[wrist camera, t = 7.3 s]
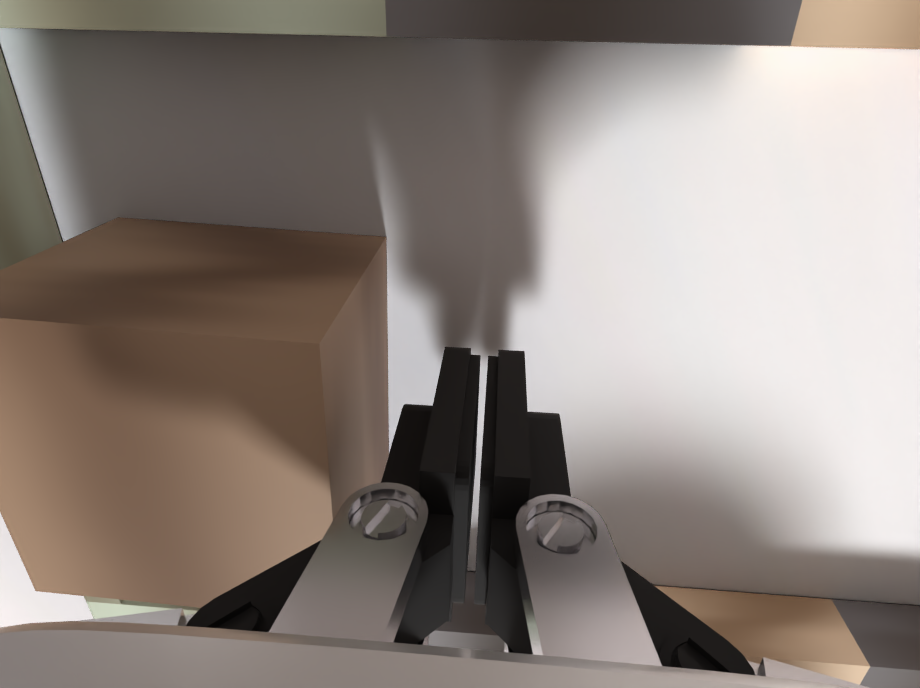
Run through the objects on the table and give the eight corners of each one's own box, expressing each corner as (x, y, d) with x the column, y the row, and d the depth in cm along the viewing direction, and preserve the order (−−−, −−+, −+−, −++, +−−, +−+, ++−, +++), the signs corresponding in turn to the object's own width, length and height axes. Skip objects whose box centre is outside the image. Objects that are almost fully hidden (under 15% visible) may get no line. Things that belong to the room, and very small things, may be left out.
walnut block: (386, 236, 12) (319, 344, 8) (389, 453, 15) (339, 622, 11) (118, 216, 13) (-91, 310, 8) (170, 434, 15) (36, 590, 11)
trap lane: (1468, -10, 9) (1699, -22, 7) (997, 635, 17) (1055, 706, 15) (-78, -36, 10) (-196, -52, 9) (136, 567, 18) (96, 624, 16)
